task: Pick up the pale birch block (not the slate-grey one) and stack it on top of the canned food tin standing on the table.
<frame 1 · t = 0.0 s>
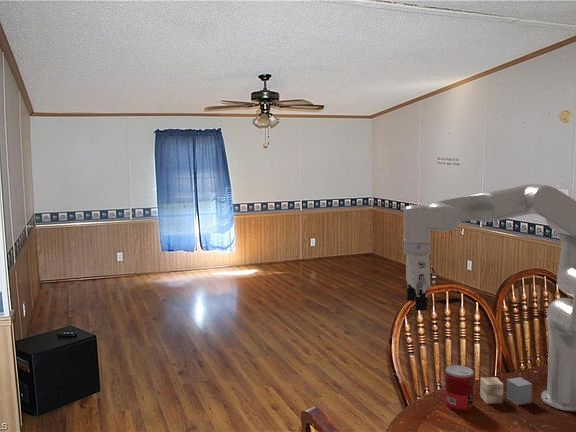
hand: (416, 305, 154), 31 cm above the table, fingers open, 9 cm apart
birch block: (491, 399, 161), on the table
canned food: (458, 405, 157), on the table
slate block: (518, 400, 160), on the table
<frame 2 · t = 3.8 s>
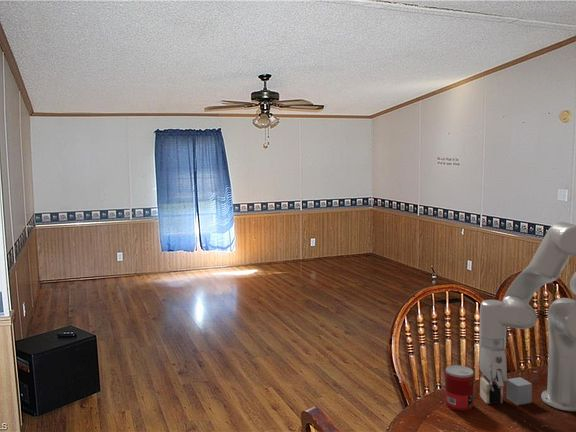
hand: (491, 397, 160), 0 cm above the table, fingers closed on birch block, 5 cm apart
birch block: (491, 399, 161), on the table, touching gripper
everything else where it was.
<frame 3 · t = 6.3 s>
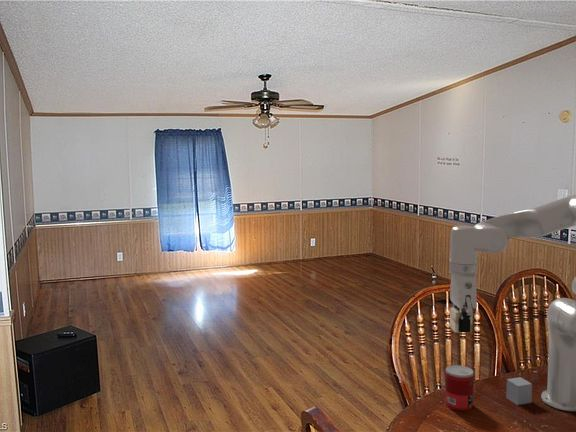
hand: (460, 328, 155), 24 cm above the table, fingers closed on birch block, 5 cm apart
birch block: (460, 329, 155), point 23 cm above the table, touching gripper
everything else where it was.
when the fingers open (12 cm above the table, at t = 9.2 s): birch block stays where it is, resting on canned food.
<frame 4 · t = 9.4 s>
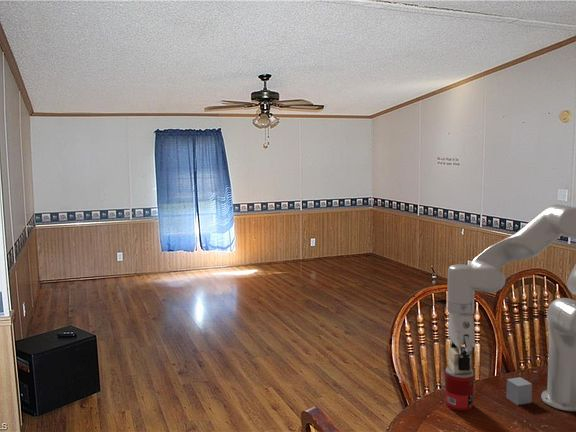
hand: (459, 364, 156), 13 cm above the table, fingers open, 6 cm apart
birch block: (459, 370, 156), point 11 cm above the table, touching canned food
canned food: (458, 405, 157), on the table, touching birch block
everything else where it was.
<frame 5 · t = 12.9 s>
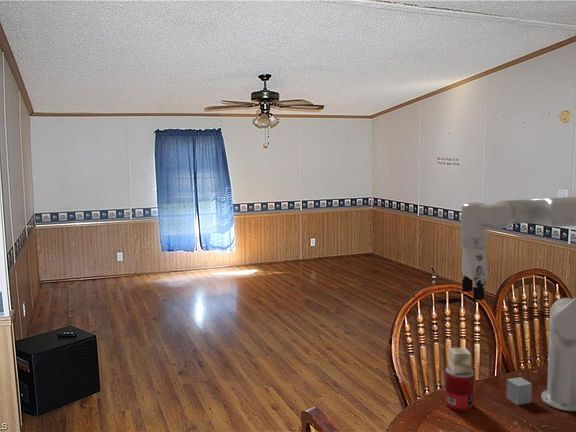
hand: (472, 295, 166), 30 cm above the table, fingers open, 9 cm apart
nothing on the table moved.
at the end: birch block 0.1 cm off-centre on the canned food, point 11.2 cm above the canned food's base; birch block tilted 0°; the gripper is holding nothing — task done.
